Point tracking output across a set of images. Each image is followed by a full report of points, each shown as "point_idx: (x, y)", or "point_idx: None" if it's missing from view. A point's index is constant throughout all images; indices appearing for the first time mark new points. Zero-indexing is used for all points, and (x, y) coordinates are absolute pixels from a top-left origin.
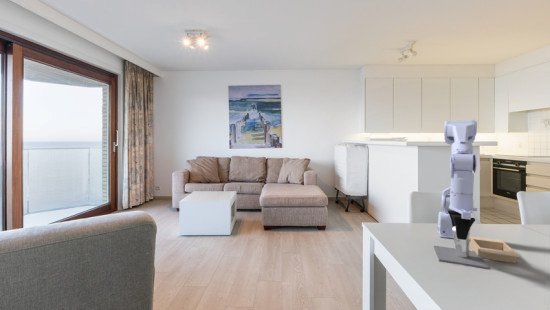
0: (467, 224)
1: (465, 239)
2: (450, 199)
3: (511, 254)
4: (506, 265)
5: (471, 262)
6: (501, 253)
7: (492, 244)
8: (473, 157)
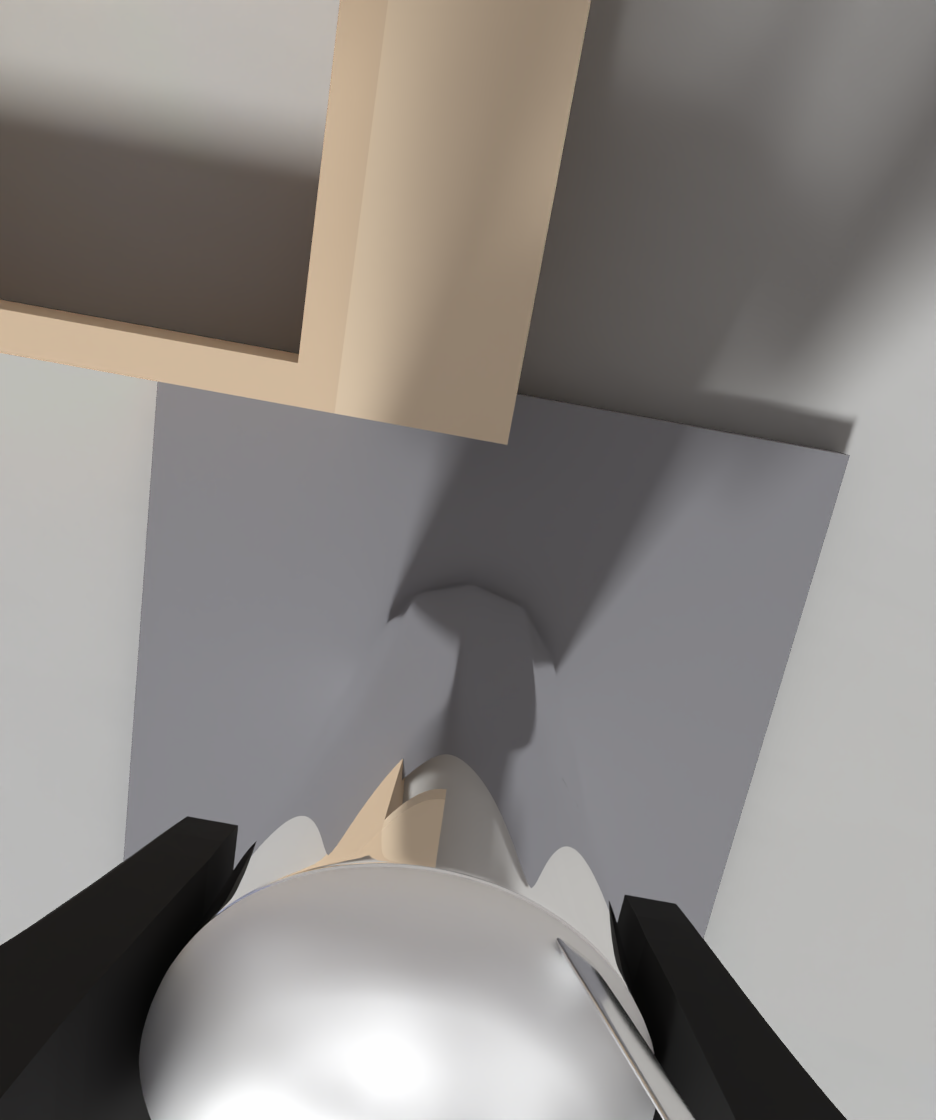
0: None
1: (683, 921)
2: None
3: None
4: (611, 59)
5: (701, 639)
6: (564, 49)
7: None
8: None
